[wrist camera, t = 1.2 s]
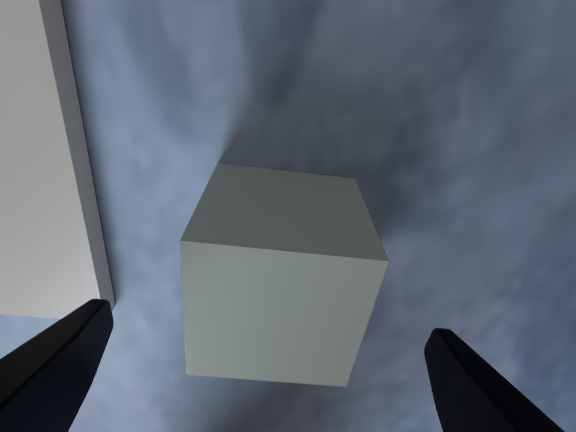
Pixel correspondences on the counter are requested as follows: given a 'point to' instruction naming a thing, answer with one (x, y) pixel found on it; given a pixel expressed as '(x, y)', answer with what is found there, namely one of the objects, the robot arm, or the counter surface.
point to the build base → (44, 172)
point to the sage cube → (278, 276)
